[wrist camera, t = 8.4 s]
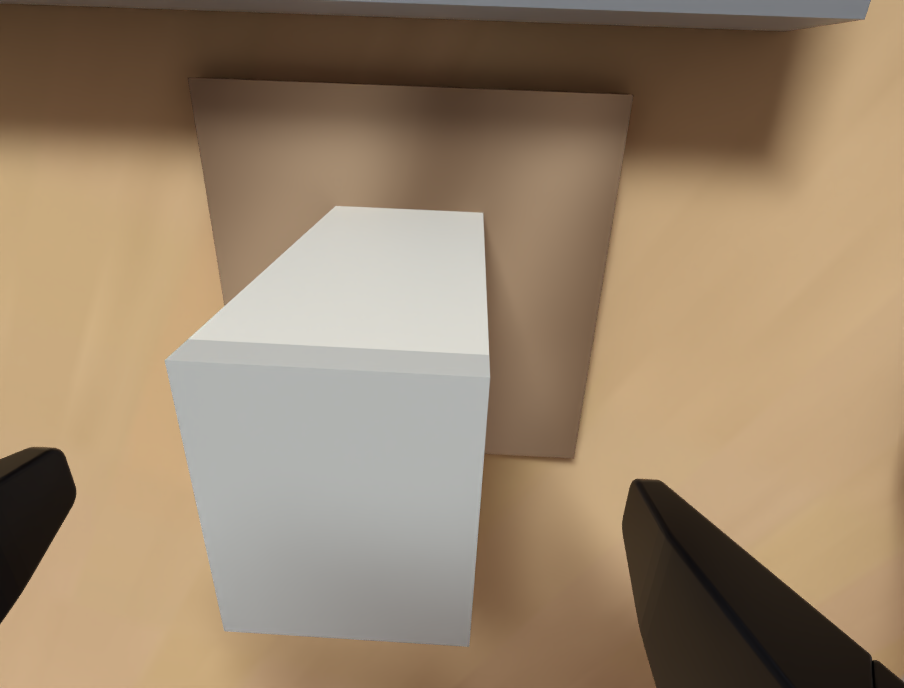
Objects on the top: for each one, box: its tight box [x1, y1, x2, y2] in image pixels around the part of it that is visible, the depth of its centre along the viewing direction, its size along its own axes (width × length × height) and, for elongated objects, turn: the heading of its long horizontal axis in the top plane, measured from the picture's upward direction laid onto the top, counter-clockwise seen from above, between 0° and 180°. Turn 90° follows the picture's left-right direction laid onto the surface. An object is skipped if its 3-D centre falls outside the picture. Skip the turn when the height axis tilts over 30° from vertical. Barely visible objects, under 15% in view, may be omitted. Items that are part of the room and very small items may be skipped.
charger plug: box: [165, 206, 490, 647], centre depth 12 cm, size 4×5×9 cm
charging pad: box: [188, 78, 633, 458], centre depth 16 cm, size 11×11×1 cm
